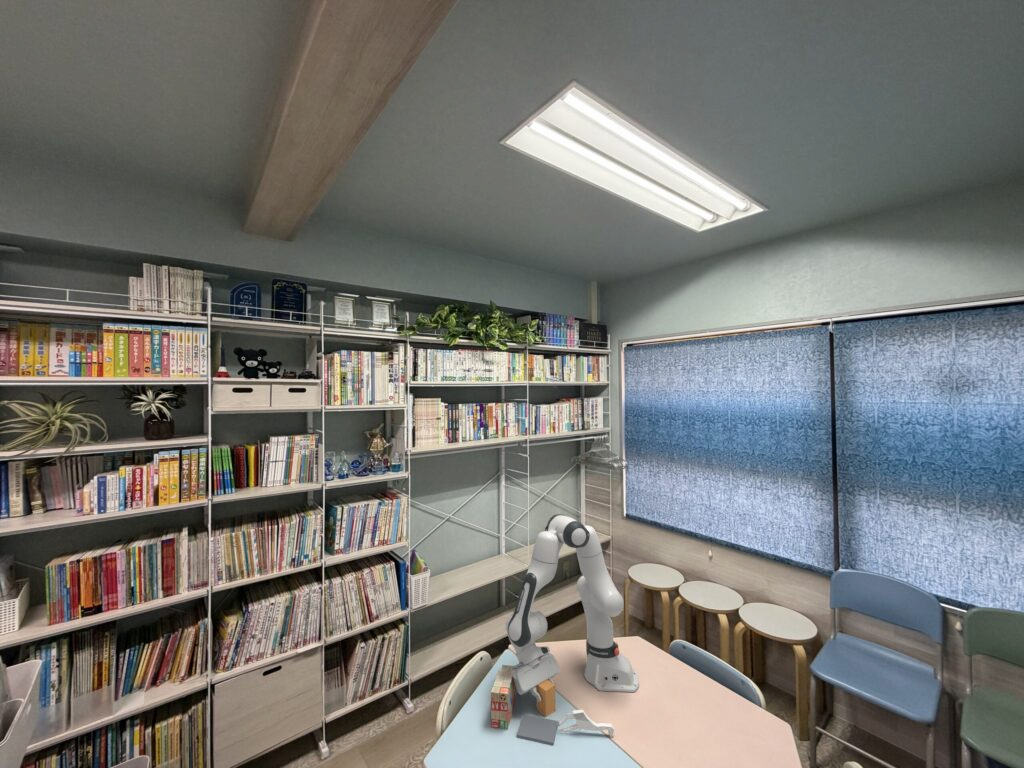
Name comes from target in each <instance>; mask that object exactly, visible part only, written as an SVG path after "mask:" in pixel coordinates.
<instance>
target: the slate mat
mask: <svg viewBox="0 0 1024 768" xmlns="http://www.w3.org/2000/svg"><path fill="white" fill-rule="evenodd" d="M558 721H559V720H553V719H550V718H545V717H540V716H536V715H530V714H525V713H524V714H522V718H521V719H520V724H519V726H518V729H517V732H516V735H515V737H516V738H518V739H521V740H522V739H524V740H527V741H532V742H536V743H541V744H546V745H551V746H554V745H555V741H556V735H557V730H558V727H559V726H558Z"/></svg>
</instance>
